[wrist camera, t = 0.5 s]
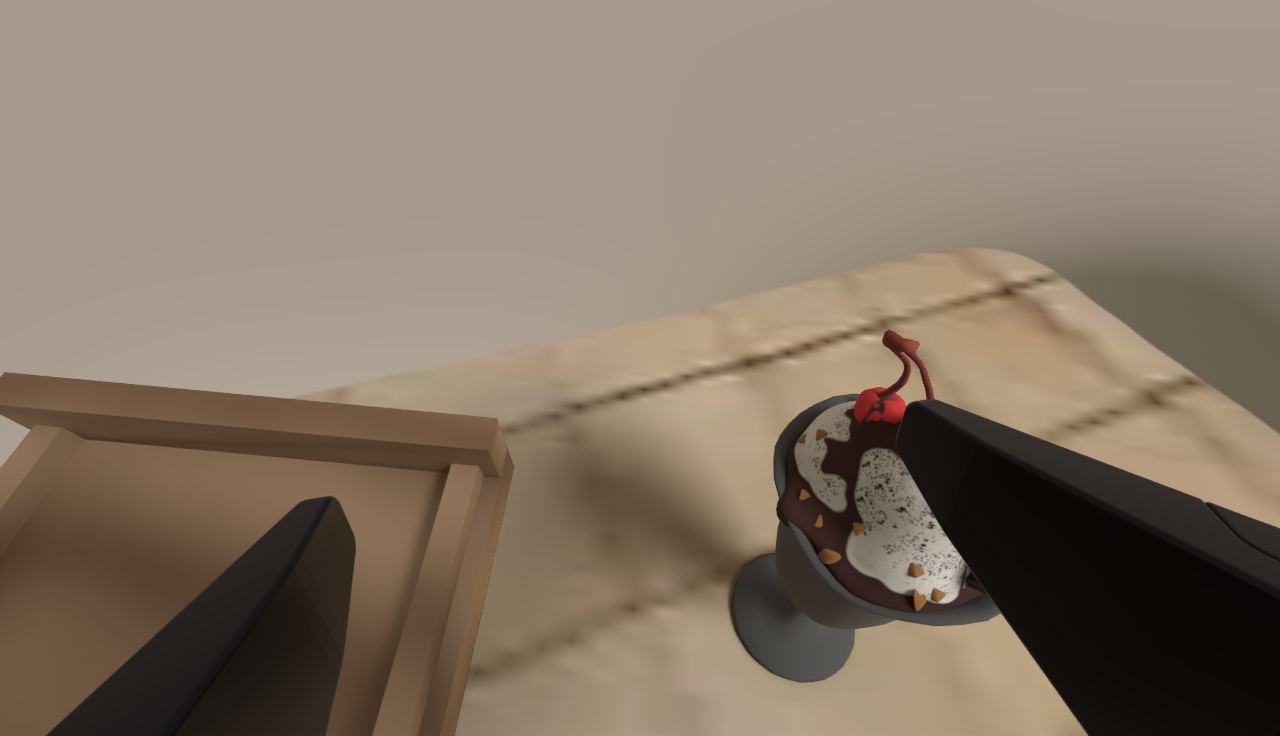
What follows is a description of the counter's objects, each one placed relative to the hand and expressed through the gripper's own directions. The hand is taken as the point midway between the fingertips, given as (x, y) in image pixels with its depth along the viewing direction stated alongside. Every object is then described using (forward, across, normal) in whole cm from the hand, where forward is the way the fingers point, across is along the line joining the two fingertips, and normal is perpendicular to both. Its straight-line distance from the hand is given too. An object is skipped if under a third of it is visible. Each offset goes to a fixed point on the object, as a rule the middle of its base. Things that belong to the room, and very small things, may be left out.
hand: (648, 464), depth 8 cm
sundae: (+5, -7, +14) cm, 17 cm away
